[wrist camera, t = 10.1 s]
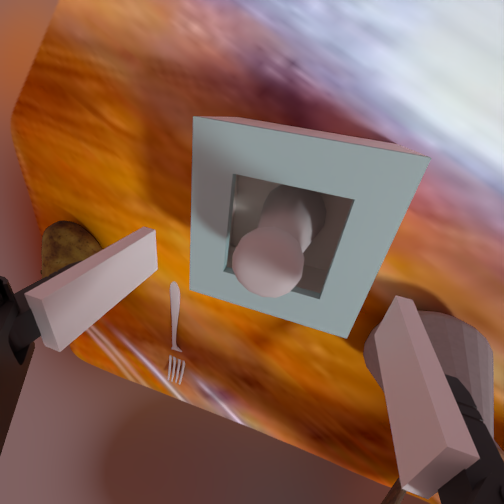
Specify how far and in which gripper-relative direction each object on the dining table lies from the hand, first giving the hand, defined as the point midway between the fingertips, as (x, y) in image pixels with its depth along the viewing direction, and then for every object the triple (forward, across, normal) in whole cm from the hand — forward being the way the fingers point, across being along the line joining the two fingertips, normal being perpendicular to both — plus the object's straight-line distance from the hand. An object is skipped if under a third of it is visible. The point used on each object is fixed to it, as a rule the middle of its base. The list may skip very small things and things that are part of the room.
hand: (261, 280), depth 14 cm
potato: (+14, +27, +15) cm, 34 cm away
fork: (+15, +14, +24) cm, 32 cm away
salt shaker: (+14, 0, 0) cm, 14 cm away
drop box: (+14, 0, 0) cm, 14 cm away
